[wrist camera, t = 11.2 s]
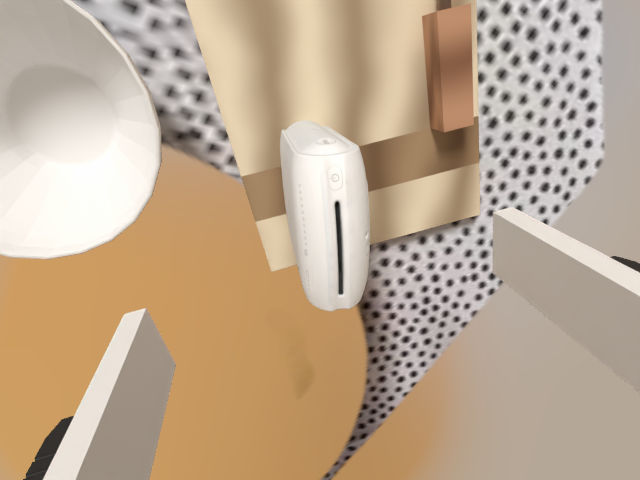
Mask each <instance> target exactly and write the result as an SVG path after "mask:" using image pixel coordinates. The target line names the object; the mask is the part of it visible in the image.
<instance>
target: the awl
mask: <svg viewBox="0 0 640 480" xmlns="http://www.w3.org/2000/svg"><path fill="white" fill-rule="evenodd" d="M422 25H423V38H424V52H425V65H426V78H427V92H428V105H429V118H430V128H432V129H435V130H438V131H441V132H448V131H452V130H456V129H459V128H463V127H467V126H471V125H474V111H473V68H472V24H471V3H470V4H466V5H462V6H457V7H453V8H452V7H451V0H439V11H436V12H433V13H430V14H427V15H424V16H422Z"/></svg>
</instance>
